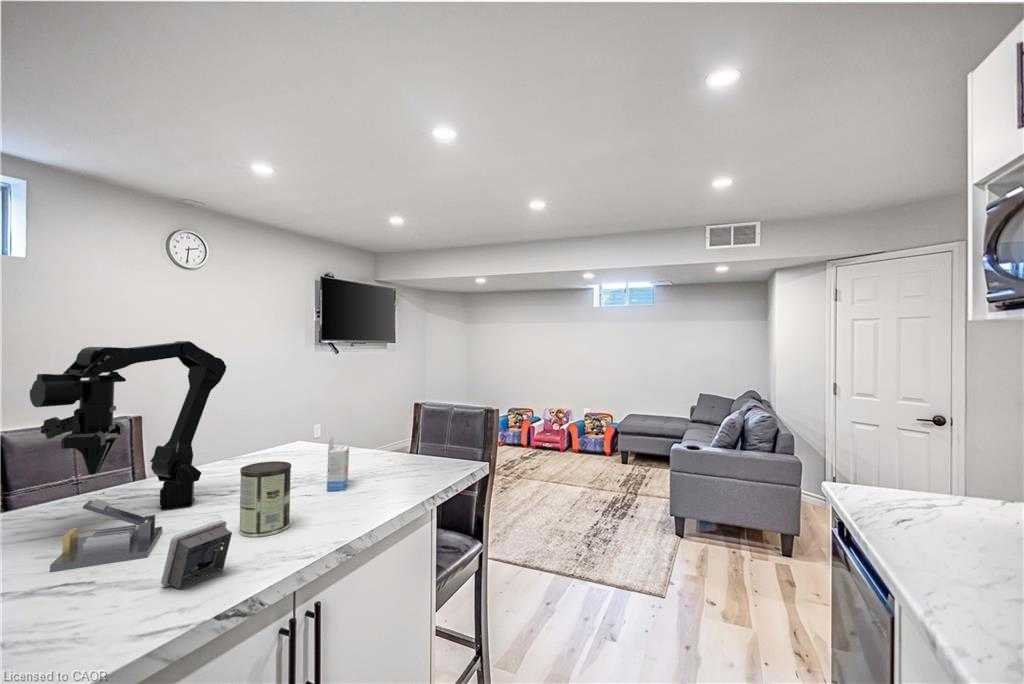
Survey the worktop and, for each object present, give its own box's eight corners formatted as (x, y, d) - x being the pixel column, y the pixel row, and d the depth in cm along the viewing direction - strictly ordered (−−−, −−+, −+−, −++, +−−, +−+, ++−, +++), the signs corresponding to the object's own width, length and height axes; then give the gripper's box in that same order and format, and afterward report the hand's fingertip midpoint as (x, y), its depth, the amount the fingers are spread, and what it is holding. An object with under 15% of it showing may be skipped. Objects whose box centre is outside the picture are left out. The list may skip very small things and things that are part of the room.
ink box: (344, 491, 134) (346, 440, 134) (326, 492, 133) (327, 440, 133) (348, 483, 142) (349, 435, 143) (331, 483, 141) (332, 435, 142)
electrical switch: (213, 565, 87) (218, 516, 87) (232, 573, 85) (237, 523, 85) (159, 588, 78) (164, 534, 78) (178, 597, 76) (184, 542, 76)
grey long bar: (150, 525, 96) (155, 517, 97) (146, 529, 94) (152, 521, 94) (86, 505, 92) (91, 497, 92) (81, 509, 89) (86, 501, 90)
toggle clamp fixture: (162, 532, 102) (163, 508, 102) (147, 557, 90) (148, 530, 90) (78, 543, 95) (79, 517, 96) (49, 572, 83) (51, 542, 83)
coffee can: (265, 518, 112) (267, 459, 112) (299, 523, 108) (301, 463, 109) (227, 533, 102) (229, 469, 102) (263, 540, 98) (265, 473, 99)
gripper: (65, 400, 108) (62, 467, 107) (28, 409, 91) (24, 488, 91) (125, 398, 113) (123, 462, 113) (101, 406, 96) (98, 482, 96)
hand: (94, 473), depth 103 cm, fingers closed
